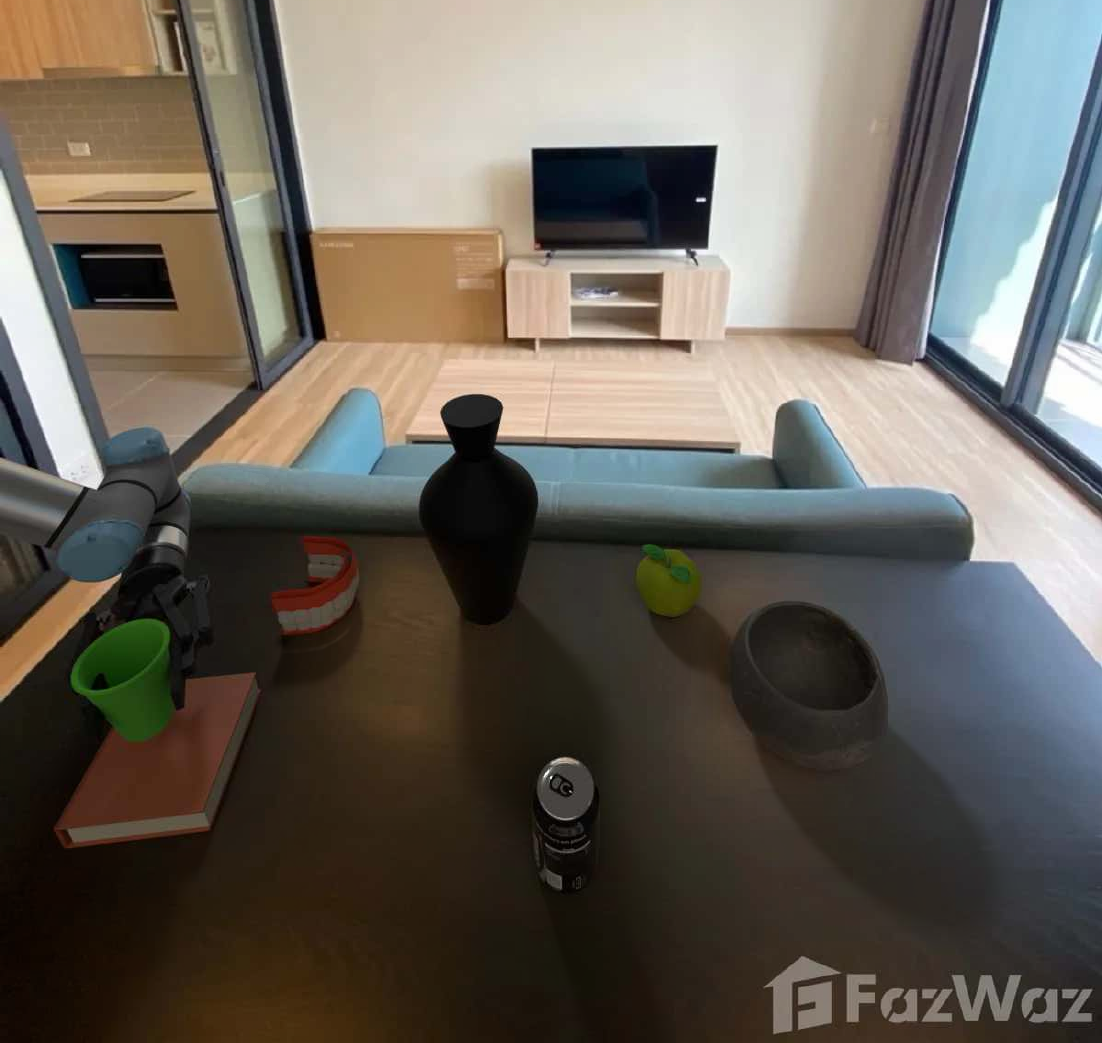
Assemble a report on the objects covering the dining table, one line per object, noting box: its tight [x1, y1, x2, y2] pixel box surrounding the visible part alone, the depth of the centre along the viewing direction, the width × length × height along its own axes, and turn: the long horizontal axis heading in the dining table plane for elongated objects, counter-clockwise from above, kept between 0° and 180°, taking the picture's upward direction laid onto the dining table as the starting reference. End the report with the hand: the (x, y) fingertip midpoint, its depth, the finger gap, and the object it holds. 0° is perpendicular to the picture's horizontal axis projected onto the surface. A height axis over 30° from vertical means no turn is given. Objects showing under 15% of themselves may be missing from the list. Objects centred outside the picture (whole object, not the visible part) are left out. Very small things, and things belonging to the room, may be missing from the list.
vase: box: [418, 393, 539, 626], centre depth 86 cm, size 17×17×35 cm
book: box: [53, 671, 262, 850], centre depth 71 cm, size 15×16×4 cm
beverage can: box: [530, 756, 601, 895], centre depth 60 cm, size 7×7×12 cm
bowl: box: [727, 600, 889, 771], centre depth 73 cm, size 18×18×13 cm
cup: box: [71, 619, 175, 742], centre depth 66 cm, size 9×9×11 cm
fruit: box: [635, 543, 702, 618], centre depth 89 cm, size 9×9×10 cm
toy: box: [269, 535, 360, 636], centre depth 91 cm, size 12×10×8 cm
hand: (135, 717), depth 62 cm, fingers closed on cup, 7 cm apart
